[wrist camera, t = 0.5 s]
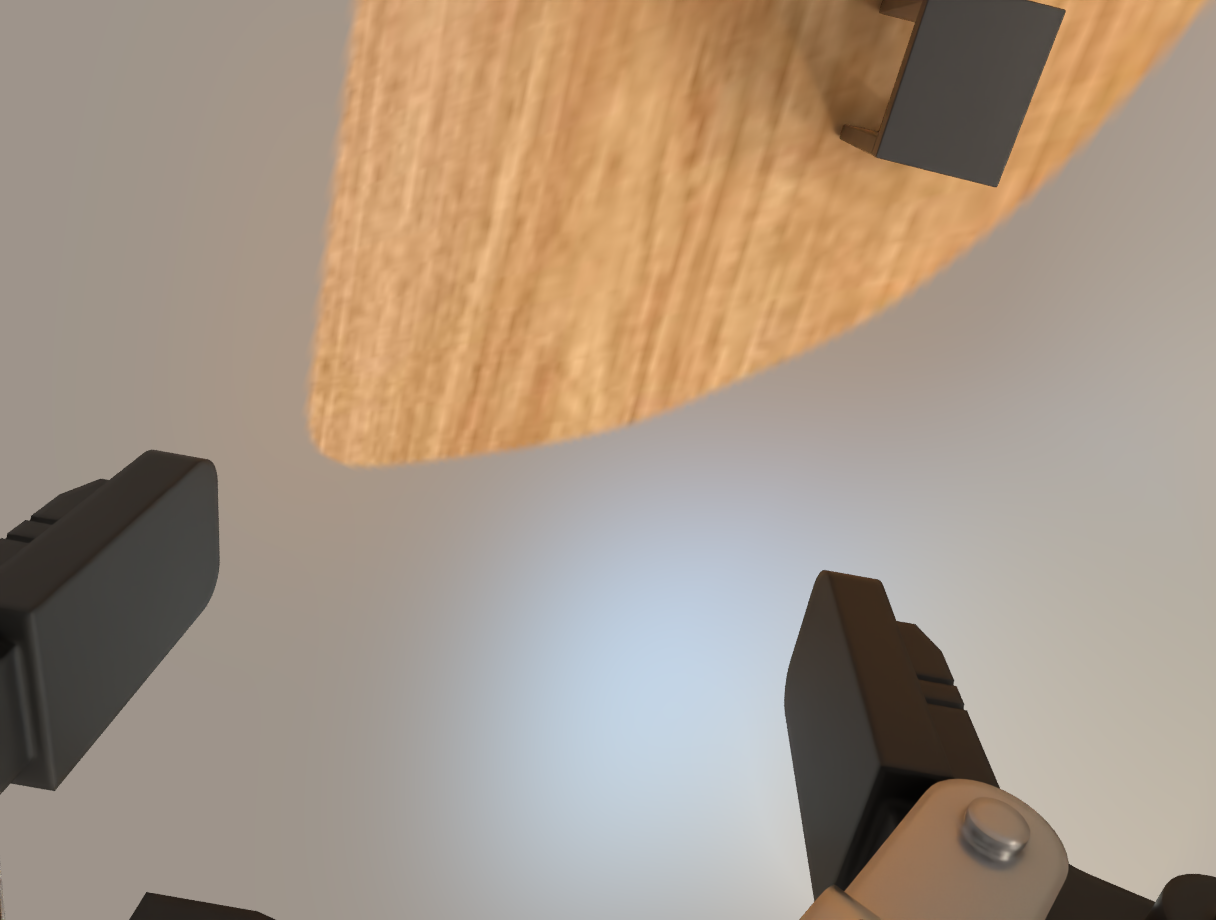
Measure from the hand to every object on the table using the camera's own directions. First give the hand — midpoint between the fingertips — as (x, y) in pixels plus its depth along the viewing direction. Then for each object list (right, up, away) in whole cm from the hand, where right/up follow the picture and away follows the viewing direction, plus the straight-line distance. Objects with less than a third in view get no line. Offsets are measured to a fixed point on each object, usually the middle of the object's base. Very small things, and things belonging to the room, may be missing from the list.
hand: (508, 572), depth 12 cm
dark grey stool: (+13, +16, +23) cm, 31 cm away
